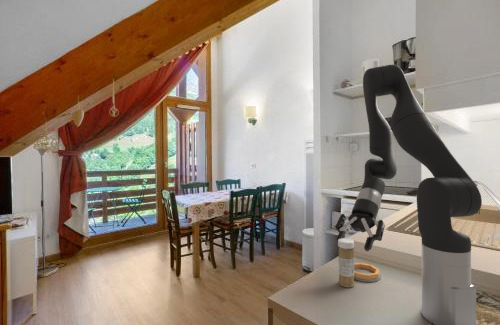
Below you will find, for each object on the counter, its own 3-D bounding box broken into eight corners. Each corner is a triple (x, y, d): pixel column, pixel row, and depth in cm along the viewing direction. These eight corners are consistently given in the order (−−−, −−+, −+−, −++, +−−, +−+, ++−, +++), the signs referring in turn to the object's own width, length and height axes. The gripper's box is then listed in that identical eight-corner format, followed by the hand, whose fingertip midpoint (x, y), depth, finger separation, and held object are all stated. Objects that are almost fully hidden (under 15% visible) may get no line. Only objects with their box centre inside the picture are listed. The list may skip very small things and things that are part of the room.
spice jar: (343, 279, 82) (343, 236, 82) (357, 284, 79) (357, 240, 78) (335, 284, 79) (334, 239, 79) (349, 289, 76) (348, 243, 75)
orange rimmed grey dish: (388, 279, 81) (388, 273, 81) (360, 284, 79) (360, 277, 79) (366, 266, 91) (366, 261, 91) (340, 270, 89) (340, 264, 89)
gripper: (343, 195, 92) (326, 235, 85) (386, 200, 82) (372, 245, 75) (350, 208, 96) (335, 247, 89) (392, 214, 86) (379, 258, 78)
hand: (352, 246), depth 82 cm, fingers open, 8 cm apart
